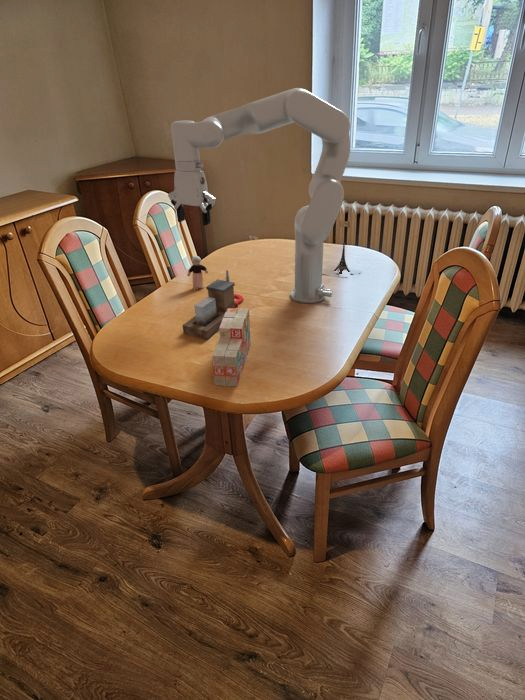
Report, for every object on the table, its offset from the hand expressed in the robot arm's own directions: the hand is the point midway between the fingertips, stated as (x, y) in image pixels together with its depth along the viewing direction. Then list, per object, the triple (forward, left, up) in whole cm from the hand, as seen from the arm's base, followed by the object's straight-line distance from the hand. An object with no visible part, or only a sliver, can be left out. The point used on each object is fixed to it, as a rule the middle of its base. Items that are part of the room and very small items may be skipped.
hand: (194, 222), depth 147 cm
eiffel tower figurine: (-35, -46, -29) cm, 65 cm away
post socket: (-12, +12, -28) cm, 33 cm away
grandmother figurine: (+8, -10, -28) cm, 31 cm away
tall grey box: (-12, +15, -28) cm, 34 cm away
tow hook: (-9, -5, -29) cm, 30 cm away
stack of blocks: (-30, +29, -29) cm, 51 cm away
